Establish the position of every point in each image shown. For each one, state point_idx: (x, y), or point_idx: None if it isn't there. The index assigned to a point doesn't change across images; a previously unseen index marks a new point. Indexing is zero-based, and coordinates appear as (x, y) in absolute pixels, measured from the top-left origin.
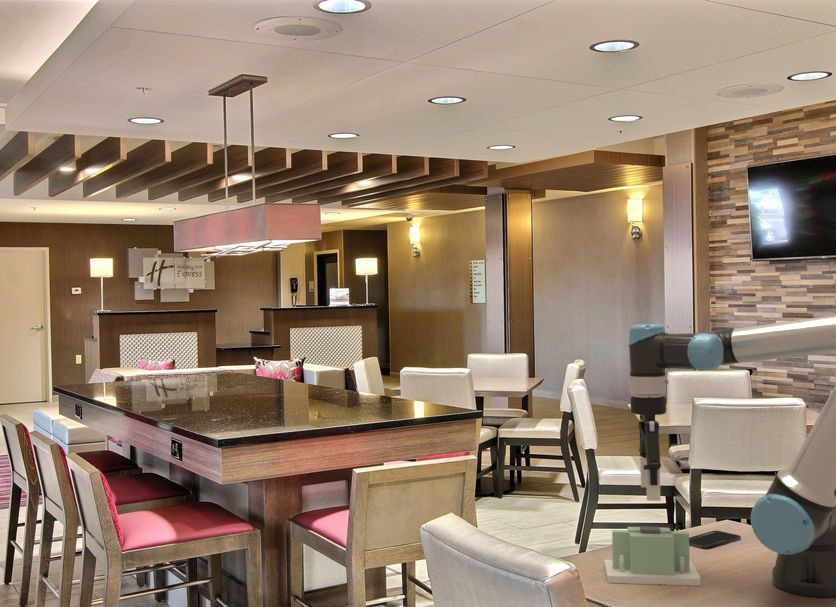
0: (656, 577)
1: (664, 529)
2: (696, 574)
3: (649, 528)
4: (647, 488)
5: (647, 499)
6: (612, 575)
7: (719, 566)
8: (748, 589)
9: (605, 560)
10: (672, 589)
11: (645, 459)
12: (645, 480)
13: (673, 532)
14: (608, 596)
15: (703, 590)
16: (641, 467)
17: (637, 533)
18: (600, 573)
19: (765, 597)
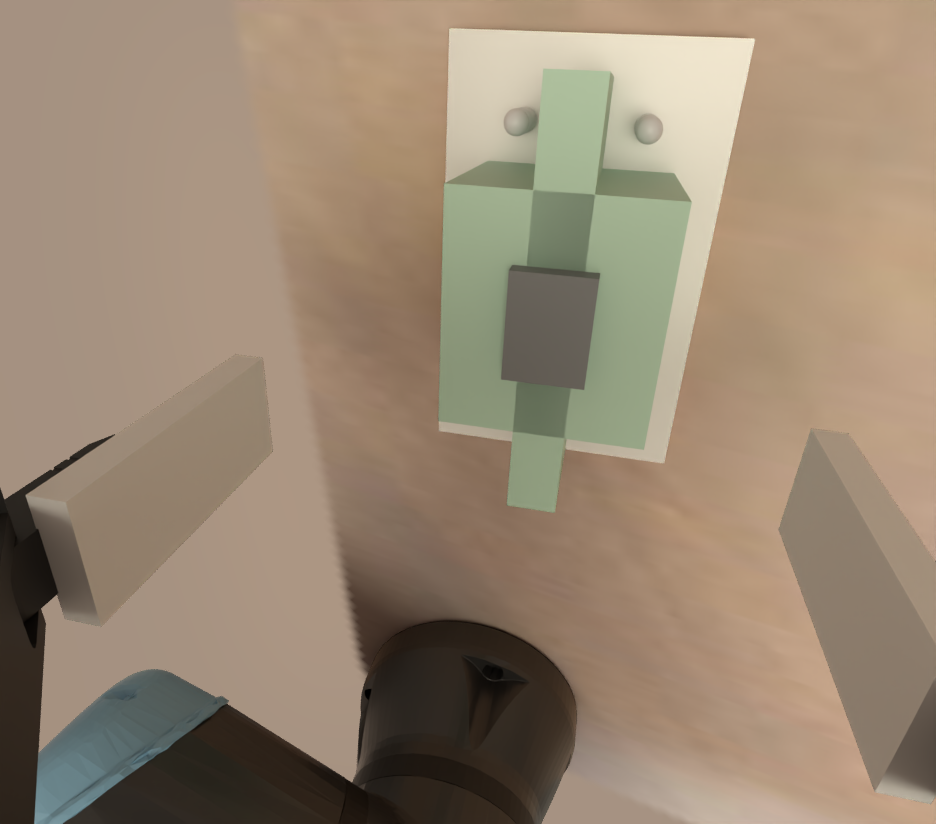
0: None
1: (605, 415)
2: (491, 432)
3: (540, 327)
4: (175, 399)
5: (231, 359)
6: (455, 57)
7: (688, 549)
8: (425, 545)
9: (732, 42)
10: (397, 311)
11: (906, 699)
12: (817, 504)
13: (538, 444)
14: (272, 17)
15: (399, 414)
16: (880, 564)
17: (511, 240)
18: (614, 3)
19: (356, 560)
